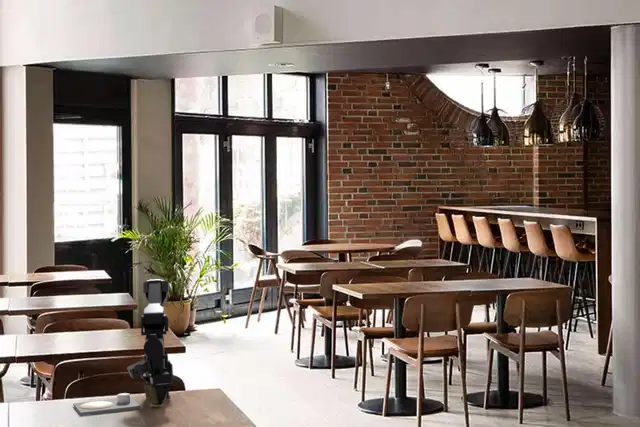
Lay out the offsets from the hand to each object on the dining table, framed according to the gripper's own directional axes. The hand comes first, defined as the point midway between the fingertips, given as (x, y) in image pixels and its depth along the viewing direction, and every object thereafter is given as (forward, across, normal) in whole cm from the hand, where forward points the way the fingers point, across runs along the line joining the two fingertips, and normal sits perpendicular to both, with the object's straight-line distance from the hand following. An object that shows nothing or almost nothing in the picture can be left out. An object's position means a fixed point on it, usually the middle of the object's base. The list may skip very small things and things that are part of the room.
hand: (156, 401), depth 298 cm
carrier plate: (+2, -8, -14) cm, 16 cm away
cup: (+2, 0, 0) cm, 2 cm away
